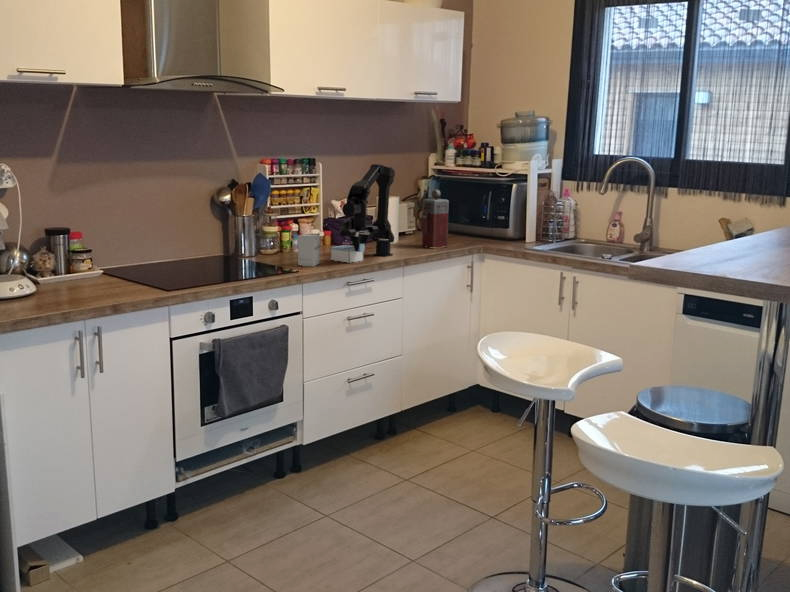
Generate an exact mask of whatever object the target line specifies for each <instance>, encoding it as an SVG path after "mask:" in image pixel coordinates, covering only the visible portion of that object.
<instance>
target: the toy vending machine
mask: <svg viewBox="0 0 790 592" xmlns="http://www.w3.org/2000/svg"><path fill="white" fill-rule="evenodd" d="M431 191H432V192H431V197H432V198H424V199H423V200H422V205H423V206H422V212H421V215H420V233H422V236H421V237H422V239H421V240H422V241H421V244H422V245H421V246H427V247H442V246H447V247H448V242H449V241H448V239H449V238H448V237H449V210H450V209H449V203H450V201H449V199H443V198H441V196H442V195H441V193H442V192H441V191H440V190H439V189H432V190H431Z"/></svg>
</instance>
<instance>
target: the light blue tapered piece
mask: <svg viewBox="0 0 790 592" xmlns="http://www.w3.org/2000/svg"><path fill="white" fill-rule="evenodd" d="M331 249H334V250H340V251H347V252H351V251H355V248H354V245H348V244H347V245H346V244H345V245H344V244H342V245H336V246H331V247H330V250H331ZM365 251H366V246H365V244H363V243H360V245H359V249H358V252H363V253H364V252H365Z"/></svg>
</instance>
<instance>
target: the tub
mask: <svg viewBox="0 0 790 592" xmlns="http://www.w3.org/2000/svg"><path fill="white" fill-rule="evenodd" d="M331 260H334V261H333V262H337V261H341V262H340V263H343V262H347V263H346V264H353V263H352V262H354V263H360V262H364V251H363V252H356V251H351V252H347V251H340V250H334V249H331V248H330V261H331ZM359 261H360V262H359Z"/></svg>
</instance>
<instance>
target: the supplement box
mask: <svg viewBox="0 0 790 592" xmlns="http://www.w3.org/2000/svg"><path fill="white" fill-rule="evenodd" d="M297 238H298V239H297V245H298V246H297V266H298V265H300V266H301V265H302V267H316V266H317V265H319V264H320V234H313V233H311V234H310V233H302V234H300V235H298V236H297Z"/></svg>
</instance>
